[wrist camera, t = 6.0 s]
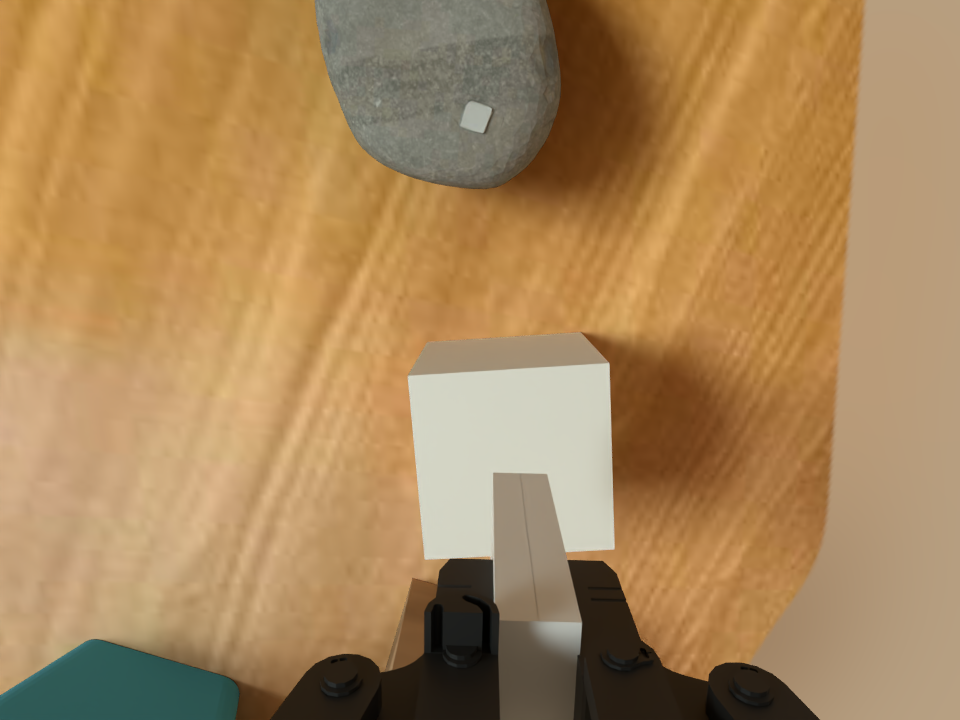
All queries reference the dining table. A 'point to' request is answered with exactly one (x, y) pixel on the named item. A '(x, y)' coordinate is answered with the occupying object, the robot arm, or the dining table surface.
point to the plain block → (511, 436)
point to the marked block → (411, 626)
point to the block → (119, 689)
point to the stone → (444, 83)
